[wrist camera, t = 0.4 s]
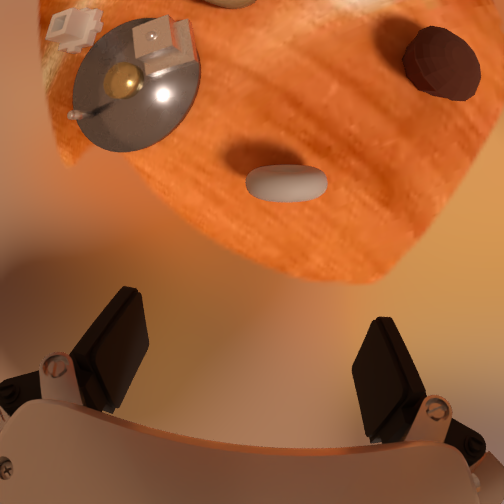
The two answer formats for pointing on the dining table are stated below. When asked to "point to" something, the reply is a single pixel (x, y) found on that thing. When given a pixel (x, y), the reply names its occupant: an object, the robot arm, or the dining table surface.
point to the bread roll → (231, 3)
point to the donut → (286, 183)
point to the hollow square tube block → (74, 29)
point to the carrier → (137, 84)
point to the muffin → (442, 64)
